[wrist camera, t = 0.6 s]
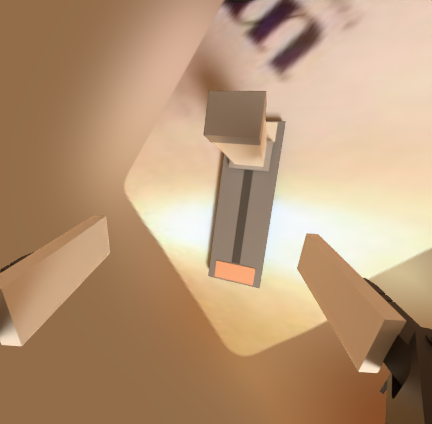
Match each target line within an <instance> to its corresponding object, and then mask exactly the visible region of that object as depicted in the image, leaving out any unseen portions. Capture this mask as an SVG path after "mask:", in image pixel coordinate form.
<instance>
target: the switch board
mask: <svg viewBox="0 0 432 424" xmlns="http://www.w3.org/2000/svg"><path fill="white" fill-rule="evenodd" d="M285 122H286V121H266V141H273V147H272V154H271V160H270V167H269V172H265V171H255V170H245V169H235V168H229V161H230V159H229V158H228V157H227V156H226V155H225V154H224V159H223V166H222V174H221V182H220V190H219V197H218V205H217V213H216V220H215V228H214V236H213V243H212V251H211V259H210V267H209V274H208V276H210V277H214V278H219V279H223V280H227V281H231V282H235V283H240V284H244V285H248V286H252V287H256V288H260V282H261V275H262V269H263V262H264V256H265V250H266V243H267V237H268V230H269V224H270V218H271V211H272V205H273V199H274V192H275V186H276V179H277V173H278V167H279V160H280V154H281V147H282V141H283V135H284V128H285Z"/></svg>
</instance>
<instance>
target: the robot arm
mask: <svg viewBox="0 0 432 424" xmlns="http://www.w3.org/2000/svg"><path fill="white" fill-rule="evenodd" d="M232 1H238V2H245V1H252V0H232ZM109 254H110V248H109V239H108V231H107V222H106V216H97V215H94V216H92V217H90V218H89V219H87V220H86V221H84V222H82V223H81V224H79V225H78V226H76V227H74V228H73V229H71V230H69V231H68V232H66V233H65V234H63V235H61V236H60V237H58V238H56V239H55V240H53V241H52V242H50V243H48V244H47V245H45V246H44V247H42V248H40V249H39V250H37V251H35V252H33V253H30V254H28V255H25V256H23V257H21V258H19V259H17V260H16V261H14V262H13V263H11V264H10V265H7V266H6V267H4V268H3V269H1V271H0V342H1V344H2V345H13V346H23V344H24V343H25V342H26V341H27V340H28V339H29V338H30V337H31V336H32V335H33V334H34V333H35V332H36V331H37V330H38V328H40V327H41V325H42V324H43V323H44V322H45V321H46V320H47V319H48V318H49V317H50V316H51V315H52V314H53V313H54V312H55V311H56V310H57V309H58V308H59V306H60V305H61V304H62V303H63V302H64V301H65V300H66V299H67V298H68V297H69V296H70V295H71V294H72V293H73V292H74V291H75V290H76V288H77V287H78V286H79V285H80V284H81V283H82V282H83V281H84V280H85V279H86V278H87V277H88V276H89V275H90V274H91V273H92V271H94V269H95V268H96V267H97V266H98V265H99V264H100V263H101V262H102V261H103V260H104V259H105V258H106V257H107V256H108V255H109ZM297 269H298V271H299V272H300V274H301V276H302V277H303V279H304V281H305V283H306V284H307V286H308V288H309V289H310V291H311V293H312V294H313V296H314V298H315V299H316V301H317V303H318V304H319V306H320V308H321V309H322V311H323V313H324V315H325V316H326V318H327V320H328V321H329V323H330V325H331V326H332V328H333V329H334V331H335V333H336V334H337V336H338V338H339V339H340V341H341V343H342V345H343V347H344V348H345V350H346V352H347V353H348V355H349V356H350V358H351V360H352V362H353V363H354V365H355V367H356V368H357V370H358V371H359V372H371V373H378V371H379V369H380V368H381V366H382V364H383V362H384V363H385V365H386V366H387V367H388V369H389V370H390V372H391V373H390V375H389V376H388V378H387V379H386V381H385V383H384V385H383V386H382V388H381V390H380V392H381V393H383V394H384V392H385V391H386V390H387V399H386V422H385V424H432V330H431V329H429V328H423V327H420V326H419V325H418V324H417V323H416V322H415V321H414V320H413V319H412V318H411V317H410V316H409V315H407V313H405V312H404V311H403V310H402V309H401V308H400V307H399V306H398V305H397V304H396V303H395V302H393V301H392V300H391V298H390V297H388V296H387V295H385V293H384V292H383V291H382V290H381V289H380V288H379V287H378V286H377V285H375V284H374V283H372V282H371V281H369V280H367V279H366V278H362V277H361V276H360V275H359V274H358V273H357V272H356V271H355V270H354V269H353V268H352V267H351V266H350V265H349V264H348V263H347V262H346V261H345V260H344V259H343V258H342V257H341V256H340V255H339V254H338V253H337V252H336V251H335V250H334V249H333V248H332V247H331V246H330V245H329V244H327V243H326V242H325V241H324V240H323V239H322V238H321V237H320V236H319V235H318V234H306V238H305V242H304V245H303V249H302V253H301V256H300V260H299V264H298V267H297Z"/></svg>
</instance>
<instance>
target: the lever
mask: <svg viewBox="0 0 432 424" xmlns="http://www.w3.org/2000/svg"><path fill="white" fill-rule="evenodd" d="M266 104H267V103H266V91H209V93H208V102H207V110H206V119H205V127H204V136H205V137H206V138H207V139H208V140H209V141H210V142H214V143H215V144H216V146H217V147H218V148H219V149H220V150H221V151H222V152H223V153H224V154H225V155H226V156H227V157H228V158H229V159H230V161H229V168H235V169H245V170H255V171H265V172H269V167H270V160H271V154H272V147H273V141H266V117H265V111H266Z"/></svg>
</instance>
